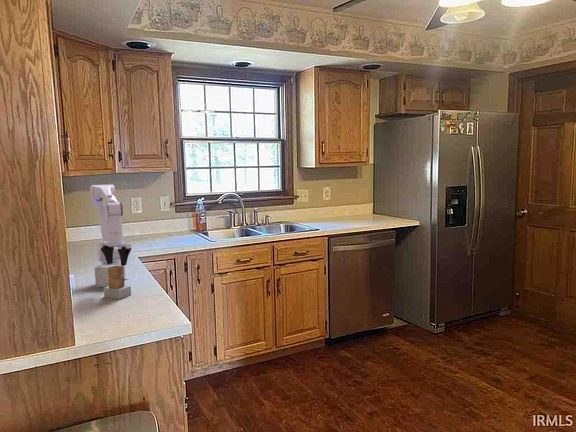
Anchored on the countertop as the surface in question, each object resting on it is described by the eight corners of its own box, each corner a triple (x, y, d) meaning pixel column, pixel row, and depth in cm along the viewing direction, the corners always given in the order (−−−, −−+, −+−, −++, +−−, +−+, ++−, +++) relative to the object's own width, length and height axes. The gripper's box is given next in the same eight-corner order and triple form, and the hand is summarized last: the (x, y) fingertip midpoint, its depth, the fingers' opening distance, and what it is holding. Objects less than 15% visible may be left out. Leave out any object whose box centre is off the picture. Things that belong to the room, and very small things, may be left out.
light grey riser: (116, 292, 175) (115, 284, 175) (131, 294, 172) (130, 286, 172) (104, 296, 170) (103, 287, 169) (119, 299, 167) (119, 290, 166)
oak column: (117, 285, 173) (115, 265, 172) (124, 286, 171) (123, 266, 170) (109, 287, 169) (107, 267, 168) (116, 289, 168) (115, 268, 167)
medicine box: (118, 284, 187) (117, 264, 186) (114, 287, 183) (113, 267, 182) (99, 284, 187) (98, 264, 186) (95, 287, 182) (94, 267, 181)
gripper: (94, 232, 176) (96, 265, 178) (120, 234, 170) (122, 268, 172) (107, 230, 183) (109, 261, 184) (134, 231, 177) (135, 264, 178)
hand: (116, 264), depth 178 cm, fingers open, 7 cm apart
